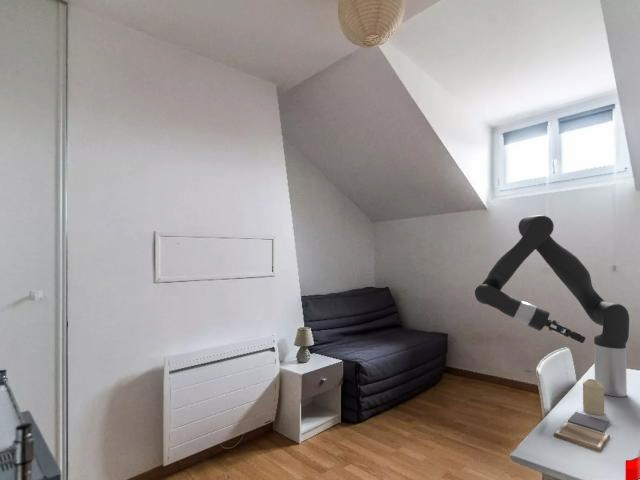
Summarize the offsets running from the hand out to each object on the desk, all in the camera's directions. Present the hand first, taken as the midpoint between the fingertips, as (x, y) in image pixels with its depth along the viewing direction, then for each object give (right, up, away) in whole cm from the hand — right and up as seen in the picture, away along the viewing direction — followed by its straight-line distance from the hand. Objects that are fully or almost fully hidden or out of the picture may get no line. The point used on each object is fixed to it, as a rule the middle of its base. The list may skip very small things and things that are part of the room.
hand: (582, 339), depth 121 cm
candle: (0, -23, -4) cm, 23 cm away
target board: (-15, -22, -21) cm, 34 cm away
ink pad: (-7, -22, -12) cm, 26 cm away
